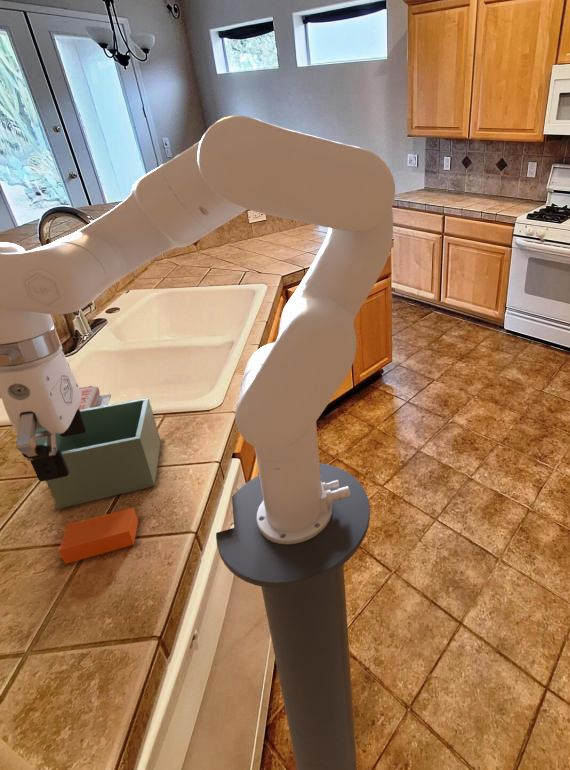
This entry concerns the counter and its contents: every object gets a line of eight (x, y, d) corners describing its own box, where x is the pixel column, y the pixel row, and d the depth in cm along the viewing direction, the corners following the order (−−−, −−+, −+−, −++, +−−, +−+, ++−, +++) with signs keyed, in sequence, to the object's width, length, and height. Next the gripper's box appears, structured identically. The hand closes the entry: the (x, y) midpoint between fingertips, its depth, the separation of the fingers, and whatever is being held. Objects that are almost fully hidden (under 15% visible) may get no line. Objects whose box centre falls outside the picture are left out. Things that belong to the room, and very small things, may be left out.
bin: (161, 441, 89) (148, 397, 85) (154, 485, 78) (139, 438, 73) (78, 458, 84) (59, 413, 79) (58, 509, 73) (35, 459, 68)
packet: (138, 520, 71) (133, 507, 70) (134, 544, 67) (129, 531, 65) (73, 537, 68) (67, 524, 66) (65, 564, 64) (58, 550, 62)
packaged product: (56, 388, 98) (106, 381, 101) (62, 406, 100) (112, 398, 103) (27, 435, 83) (88, 424, 86) (36, 454, 85) (95, 443, 88)
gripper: (35, 373, 47) (81, 489, 54) (75, 316, 61) (107, 415, 69) (-53, 385, 44) (8, 506, 52) (10, 323, 59) (51, 425, 66)
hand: (65, 454), depth 60 cm, fingers open, 9 cm apart
